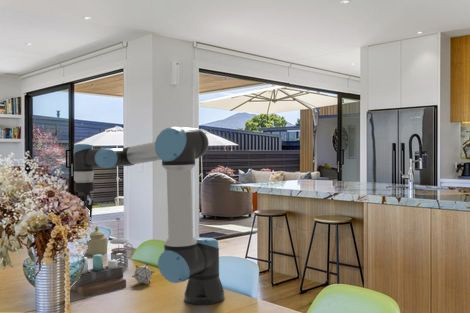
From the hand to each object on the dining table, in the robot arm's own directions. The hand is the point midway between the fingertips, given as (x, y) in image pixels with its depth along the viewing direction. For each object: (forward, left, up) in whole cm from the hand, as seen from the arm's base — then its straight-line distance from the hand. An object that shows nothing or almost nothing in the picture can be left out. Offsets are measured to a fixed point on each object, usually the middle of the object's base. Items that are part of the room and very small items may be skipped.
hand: (85, 239), depth 190 cm
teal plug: (0, -5, -14) cm, 14 cm away
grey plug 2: (0, -11, -17) cm, 20 cm away
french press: (+20, -25, -21) cm, 38 cm away
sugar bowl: (+64, -32, -21) cm, 75 cm away
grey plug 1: (0, +2, -13) cm, 14 cm away
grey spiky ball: (-8, -21, -21) cm, 31 cm away
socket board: (0, -5, -21) cm, 22 cm away
